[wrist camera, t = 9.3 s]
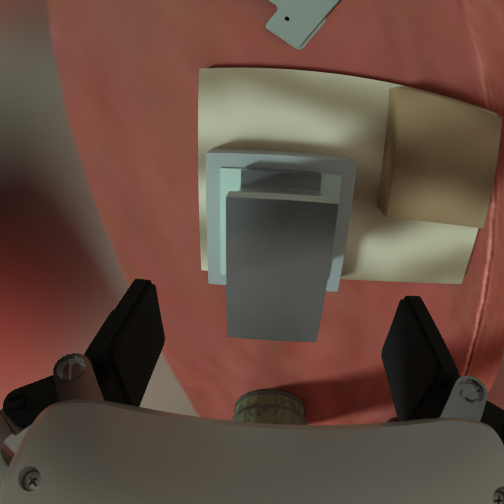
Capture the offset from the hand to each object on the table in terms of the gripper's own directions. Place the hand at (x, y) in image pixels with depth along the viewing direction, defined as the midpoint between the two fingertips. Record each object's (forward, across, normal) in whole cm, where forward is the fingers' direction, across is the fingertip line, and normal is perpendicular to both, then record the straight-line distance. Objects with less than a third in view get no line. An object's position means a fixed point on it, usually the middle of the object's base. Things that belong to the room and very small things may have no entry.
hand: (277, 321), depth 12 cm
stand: (+14, -12, -5) cm, 19 cm away
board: (+14, -6, -2) cm, 16 cm away
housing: (+11, 0, +1) cm, 11 cm away
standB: (+13, 0, +1) cm, 13 cm away
